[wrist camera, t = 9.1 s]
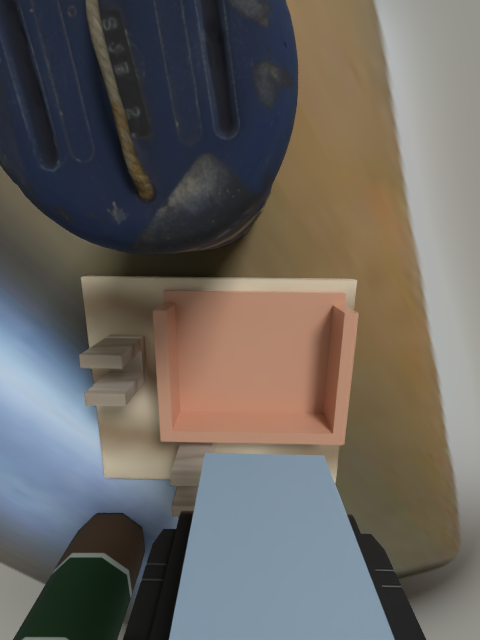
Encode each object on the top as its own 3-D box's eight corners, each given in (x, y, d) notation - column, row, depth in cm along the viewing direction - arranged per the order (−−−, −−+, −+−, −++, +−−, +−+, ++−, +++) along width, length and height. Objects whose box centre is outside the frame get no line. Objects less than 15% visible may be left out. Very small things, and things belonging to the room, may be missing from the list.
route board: (88, 275, 26) (40, 284, 20) (351, 278, 25) (385, 288, 19) (110, 469, 30) (77, 523, 24) (332, 473, 30) (353, 529, 24)
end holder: (164, 289, 25) (151, 296, 21) (343, 292, 24) (360, 299, 21) (171, 416, 27) (160, 441, 24) (331, 419, 27) (344, 445, 24)
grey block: (204, 452, 11) (138, 797, 4) (324, 455, 11) (459, 808, 4) (206, 546, 12) (156, 944, 5) (315, 548, 12) (410, 954, 5)
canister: (272, 132, 23) (365, -250, 5) (257, 256, 25) (288, 276, 8) (149, 118, 23) (-170, -320, 5) (146, 244, 25) (-84, 235, 7)
